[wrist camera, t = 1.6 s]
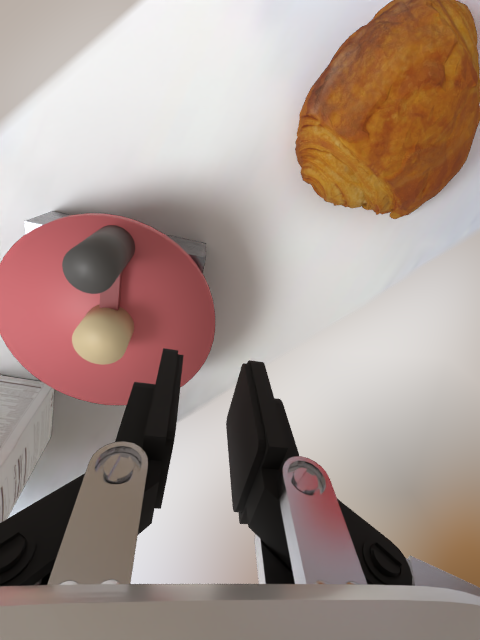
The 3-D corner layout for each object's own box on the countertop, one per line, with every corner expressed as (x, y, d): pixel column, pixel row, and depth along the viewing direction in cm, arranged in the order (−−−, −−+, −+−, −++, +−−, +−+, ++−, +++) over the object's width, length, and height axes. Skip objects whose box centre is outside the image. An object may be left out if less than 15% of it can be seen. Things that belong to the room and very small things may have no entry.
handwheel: (196, 406, 34) (194, 464, 27) (10, 385, 30) (-43, 446, 24) (234, 240, 26) (243, 267, 20) (-11, 187, 23) (-96, 200, 16)
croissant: (261, 124, 29) (264, 123, 22) (423, -40, 23) (495, -108, 17) (345, 240, 34) (368, 268, 28) (493, 130, 29) (568, 132, 22)
